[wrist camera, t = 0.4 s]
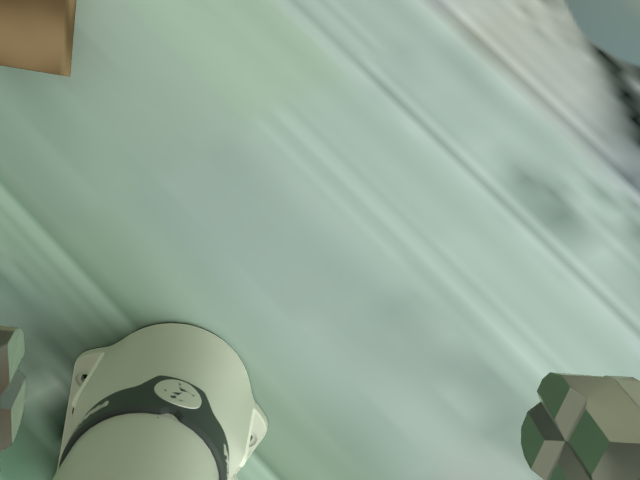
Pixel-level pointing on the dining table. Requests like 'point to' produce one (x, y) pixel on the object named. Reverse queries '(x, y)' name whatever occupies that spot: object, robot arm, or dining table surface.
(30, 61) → the rail
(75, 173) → the dining table surface
